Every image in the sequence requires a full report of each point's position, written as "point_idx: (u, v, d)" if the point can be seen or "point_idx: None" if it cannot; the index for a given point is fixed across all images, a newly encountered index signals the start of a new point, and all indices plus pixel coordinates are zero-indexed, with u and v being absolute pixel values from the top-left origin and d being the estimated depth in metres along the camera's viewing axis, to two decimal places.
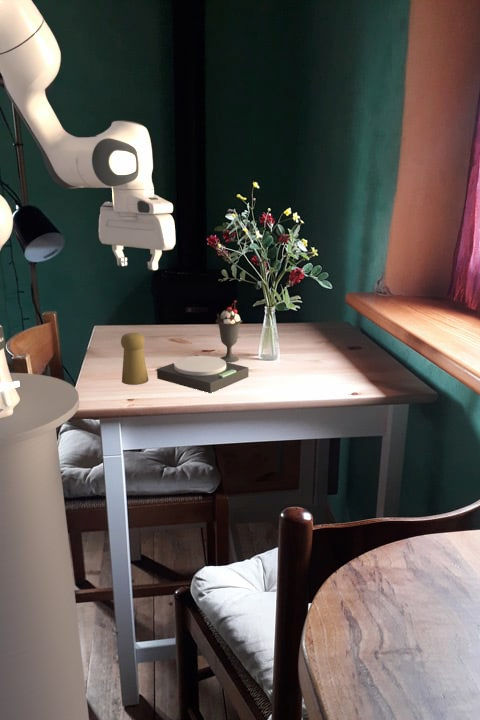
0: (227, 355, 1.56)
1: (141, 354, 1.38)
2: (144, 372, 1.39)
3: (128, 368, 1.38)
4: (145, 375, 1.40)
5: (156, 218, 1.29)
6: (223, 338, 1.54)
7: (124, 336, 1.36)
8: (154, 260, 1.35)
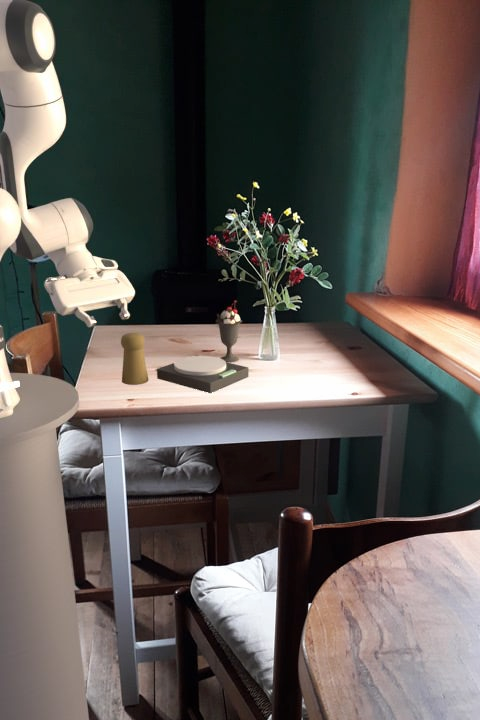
0: (227, 355, 1.56)
1: (141, 354, 1.38)
2: (144, 372, 1.39)
3: (128, 368, 1.38)
4: (145, 375, 1.40)
5: (120, 271, 1.48)
6: (223, 338, 1.54)
7: (124, 336, 1.36)
8: None
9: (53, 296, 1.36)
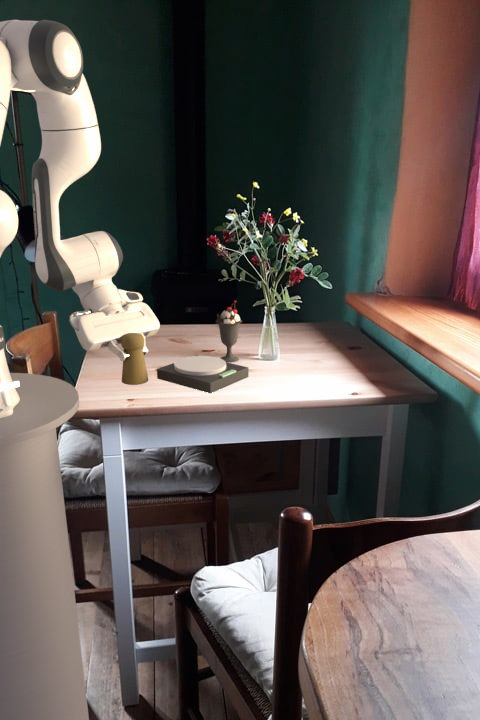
0: (227, 355, 1.56)
1: (141, 354, 1.38)
2: (144, 372, 1.39)
3: (128, 368, 1.38)
4: (145, 375, 1.40)
5: None
6: (223, 338, 1.54)
7: (124, 336, 1.36)
8: None
9: (79, 332, 1.33)
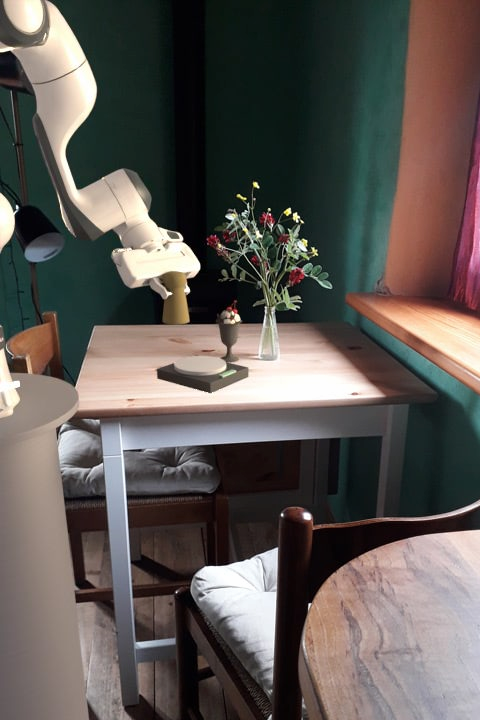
0: (227, 355, 1.56)
1: (183, 293, 1.35)
2: (186, 312, 1.36)
3: (170, 307, 1.34)
4: (187, 315, 1.37)
5: None
6: (223, 338, 1.54)
7: (166, 273, 1.33)
8: None
9: (121, 268, 1.30)
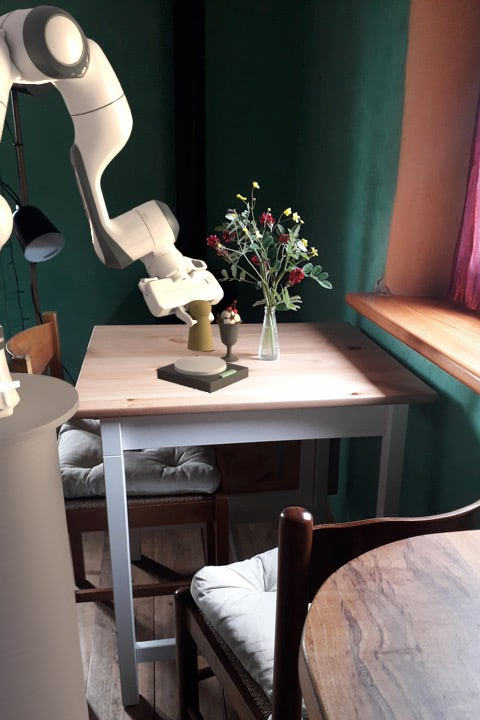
0: (227, 355, 1.56)
1: (208, 320, 1.38)
2: (210, 339, 1.40)
3: (195, 334, 1.38)
4: (211, 342, 1.40)
5: None
6: (223, 338, 1.54)
7: (192, 302, 1.37)
8: None
9: (148, 297, 1.33)
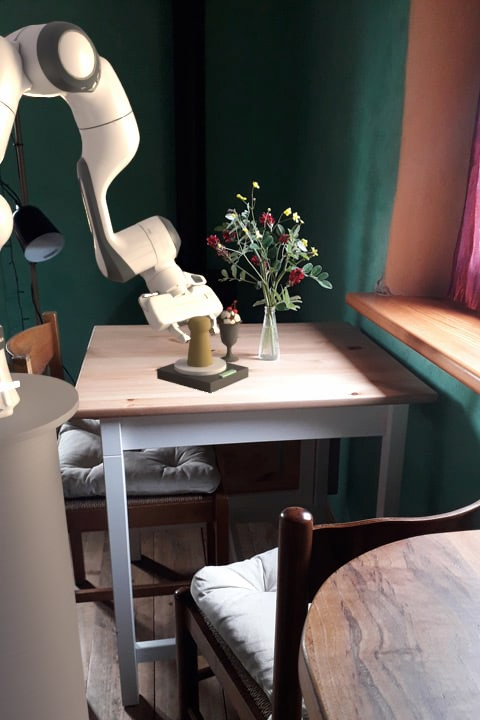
0: (227, 355, 1.56)
1: (207, 337, 1.40)
2: (210, 355, 1.41)
3: (195, 350, 1.39)
4: (210, 358, 1.42)
5: None
6: (223, 338, 1.54)
7: (191, 319, 1.38)
8: None
9: (148, 313, 1.35)
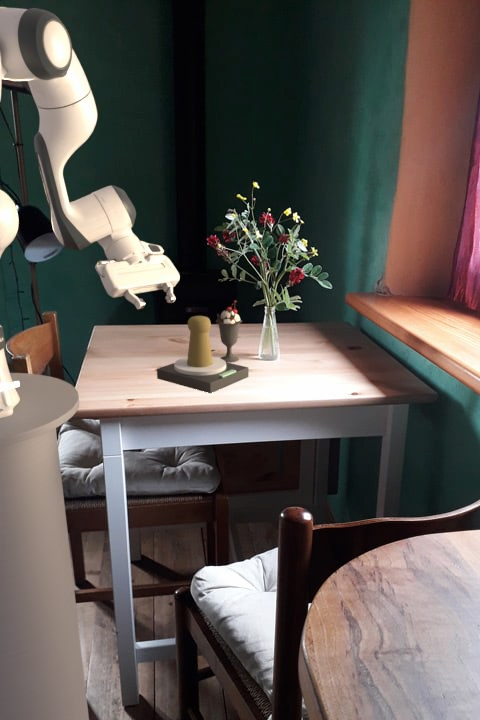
0: (227, 355, 1.56)
1: (207, 337, 1.40)
2: (210, 355, 1.41)
3: (195, 350, 1.39)
4: (210, 358, 1.42)
5: (165, 256, 1.52)
6: (223, 338, 1.54)
7: (191, 319, 1.38)
8: None
9: (104, 278, 1.40)
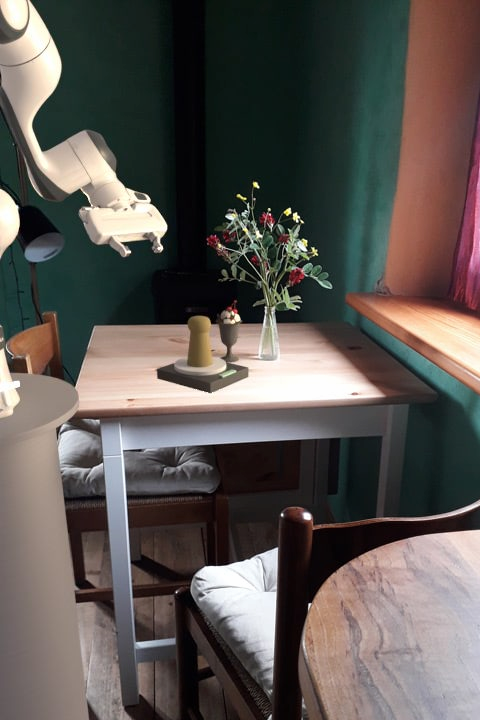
0: (227, 355, 1.56)
1: (207, 337, 1.40)
2: (210, 355, 1.41)
3: (195, 350, 1.39)
4: (210, 358, 1.42)
5: (152, 205, 1.47)
6: (223, 338, 1.54)
7: (191, 319, 1.38)
8: None
9: (88, 225, 1.35)
